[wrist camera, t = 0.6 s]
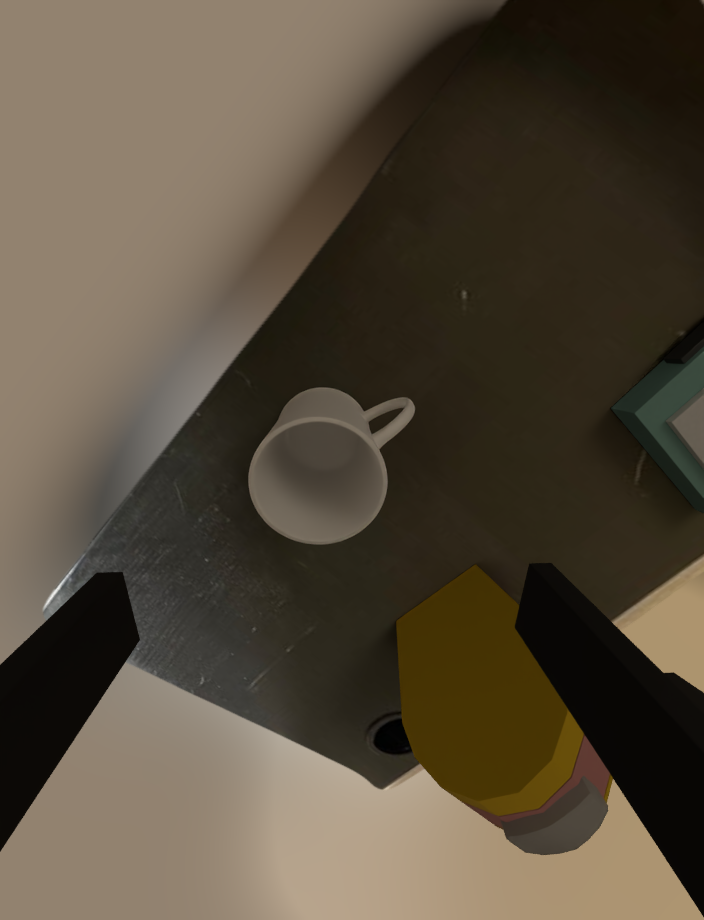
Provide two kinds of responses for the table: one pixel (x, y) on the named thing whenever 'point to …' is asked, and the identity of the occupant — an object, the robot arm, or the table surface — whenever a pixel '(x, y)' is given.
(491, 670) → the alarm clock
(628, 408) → the scale
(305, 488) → the mug
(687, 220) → the table surface
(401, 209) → the table surface
